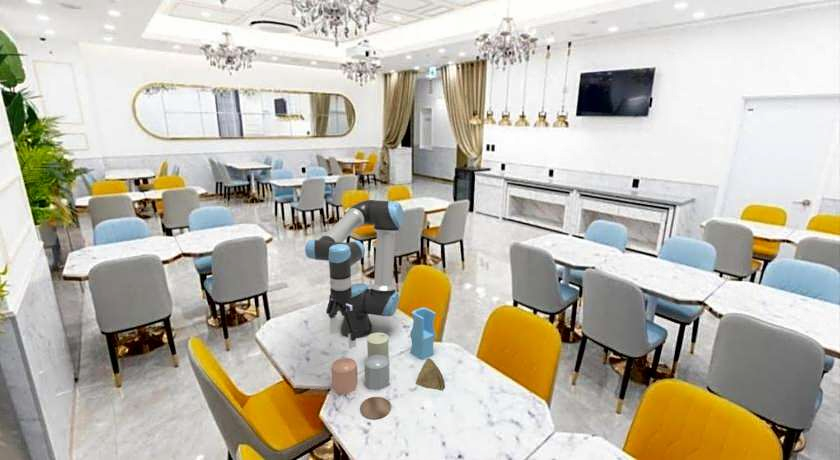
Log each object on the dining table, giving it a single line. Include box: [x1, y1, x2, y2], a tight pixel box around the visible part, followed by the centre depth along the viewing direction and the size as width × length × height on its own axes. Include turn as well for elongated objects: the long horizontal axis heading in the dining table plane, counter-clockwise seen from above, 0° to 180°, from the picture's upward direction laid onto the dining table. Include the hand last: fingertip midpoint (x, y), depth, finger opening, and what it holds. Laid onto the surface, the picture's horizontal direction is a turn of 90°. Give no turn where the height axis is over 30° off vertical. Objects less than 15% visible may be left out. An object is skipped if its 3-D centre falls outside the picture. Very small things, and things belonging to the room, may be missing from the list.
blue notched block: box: [409, 306, 437, 361], centre depth 174 cm, size 8×8×20 cm
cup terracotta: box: [330, 357, 359, 395], centre depth 153 cm, size 9×9×9 cm
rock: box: [415, 357, 446, 390], centre depth 154 cm, size 11×9×10 cm
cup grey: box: [364, 355, 390, 391], centre depth 155 cm, size 9×9×9 cm
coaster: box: [359, 396, 392, 420], centre depth 142 cm, size 11×11×1 cm
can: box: [366, 332, 390, 359], centre depth 168 cm, size 9×9×12 cm
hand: (342, 339), depth 148 cm, fingers open, 13 cm apart
